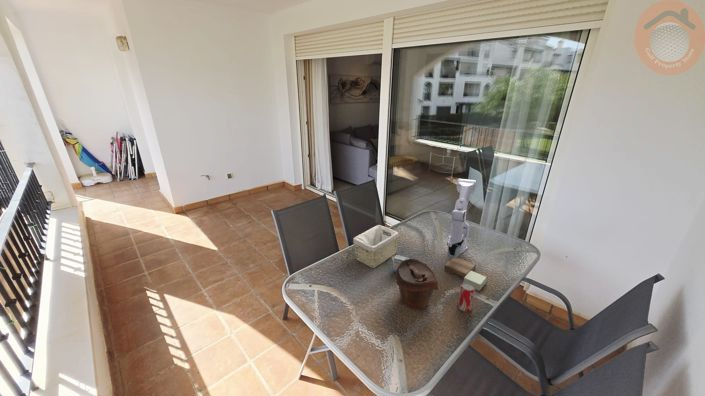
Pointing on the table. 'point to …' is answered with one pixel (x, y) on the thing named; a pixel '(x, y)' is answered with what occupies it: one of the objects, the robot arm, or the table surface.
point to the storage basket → (375, 245)
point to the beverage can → (466, 297)
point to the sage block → (475, 280)
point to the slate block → (455, 252)
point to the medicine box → (398, 261)
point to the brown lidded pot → (415, 283)
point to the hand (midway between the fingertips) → (454, 253)
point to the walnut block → (460, 266)
